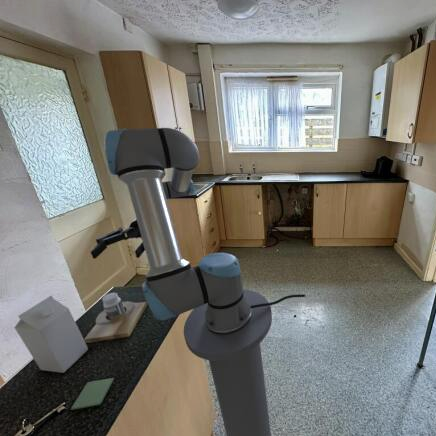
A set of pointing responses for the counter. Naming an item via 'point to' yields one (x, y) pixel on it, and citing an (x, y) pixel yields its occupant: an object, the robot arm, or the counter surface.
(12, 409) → the counter surface
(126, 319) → the board
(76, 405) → the pad
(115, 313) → the pill bottle
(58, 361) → the milk carton
